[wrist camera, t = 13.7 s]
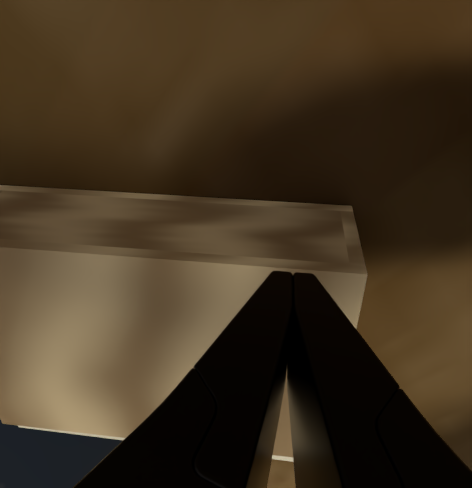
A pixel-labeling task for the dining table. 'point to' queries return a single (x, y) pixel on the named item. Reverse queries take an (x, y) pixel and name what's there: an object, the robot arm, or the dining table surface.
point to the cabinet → (143, 294)
